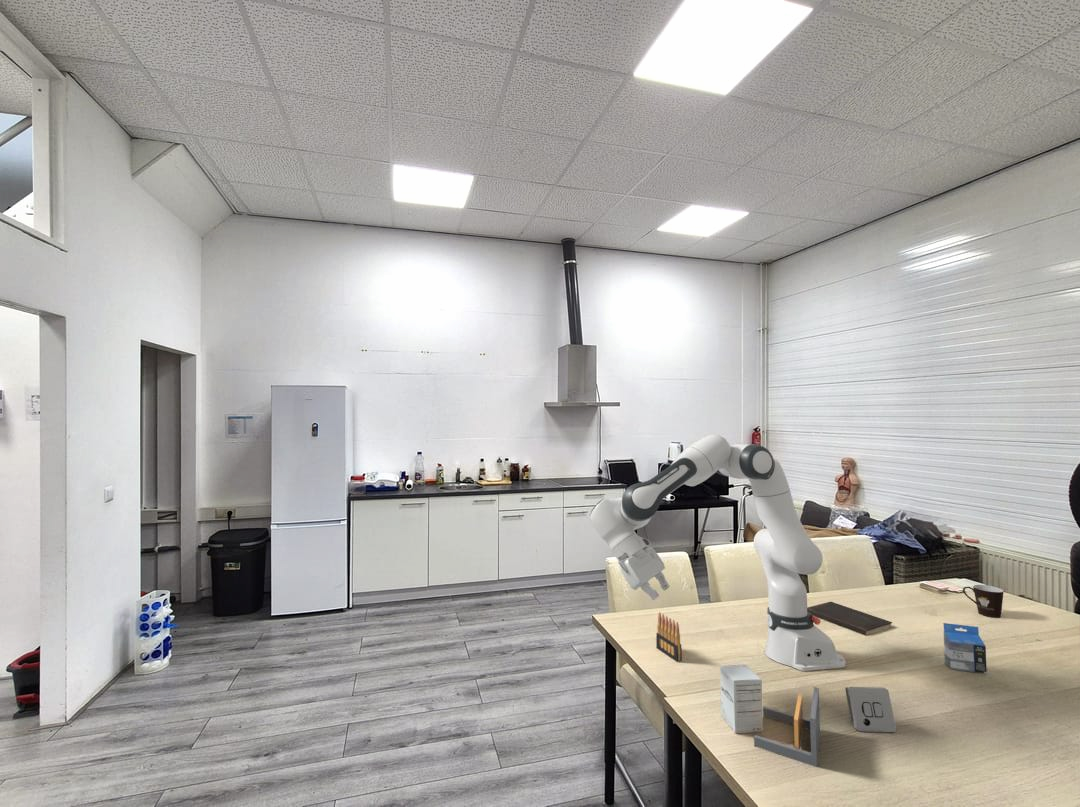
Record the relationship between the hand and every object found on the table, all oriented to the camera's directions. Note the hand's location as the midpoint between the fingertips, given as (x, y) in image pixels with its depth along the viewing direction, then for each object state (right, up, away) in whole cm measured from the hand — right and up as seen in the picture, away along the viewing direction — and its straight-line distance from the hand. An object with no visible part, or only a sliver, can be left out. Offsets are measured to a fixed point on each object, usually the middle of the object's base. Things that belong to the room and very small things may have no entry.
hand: (662, 593), depth 131 cm
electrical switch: (+47, -27, -14) cm, 56 cm away
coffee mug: (+140, -30, +54) cm, 153 cm away
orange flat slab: (+27, -26, -20) cm, 42 cm away
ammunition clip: (+8, -29, +23) cm, 38 cm away
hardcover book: (+83, -30, +49) cm, 101 cm away
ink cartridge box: (+95, -28, +13) cm, 100 cm away
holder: (+25, -27, -18) cm, 41 cm away
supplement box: (+16, -27, -13) cm, 34 cm away
